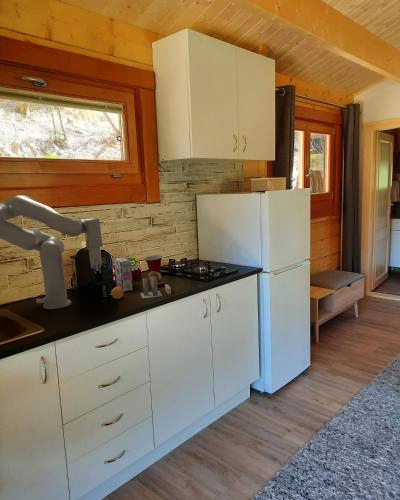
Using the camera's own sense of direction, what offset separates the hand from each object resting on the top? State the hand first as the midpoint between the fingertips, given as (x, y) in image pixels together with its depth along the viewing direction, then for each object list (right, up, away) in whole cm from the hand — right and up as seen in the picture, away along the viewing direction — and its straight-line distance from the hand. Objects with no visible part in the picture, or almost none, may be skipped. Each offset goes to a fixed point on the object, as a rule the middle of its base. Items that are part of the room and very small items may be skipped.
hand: (98, 281), depth 185 cm
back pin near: (+27, -8, +6) cm, 29 cm away
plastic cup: (+21, -1, +51) cm, 55 cm away
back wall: (+33, -7, +11) cm, 35 cm away
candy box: (+8, -6, +23) cm, 25 cm away
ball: (+8, -6, +3) cm, 11 cm away
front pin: (+22, -8, +7) cm, 24 cm away
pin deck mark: (+24, -8, +8) cm, 27 cm away
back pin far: (+25, -7, +11) cm, 29 cm away
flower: (+25, -5, +25) cm, 36 cm away
